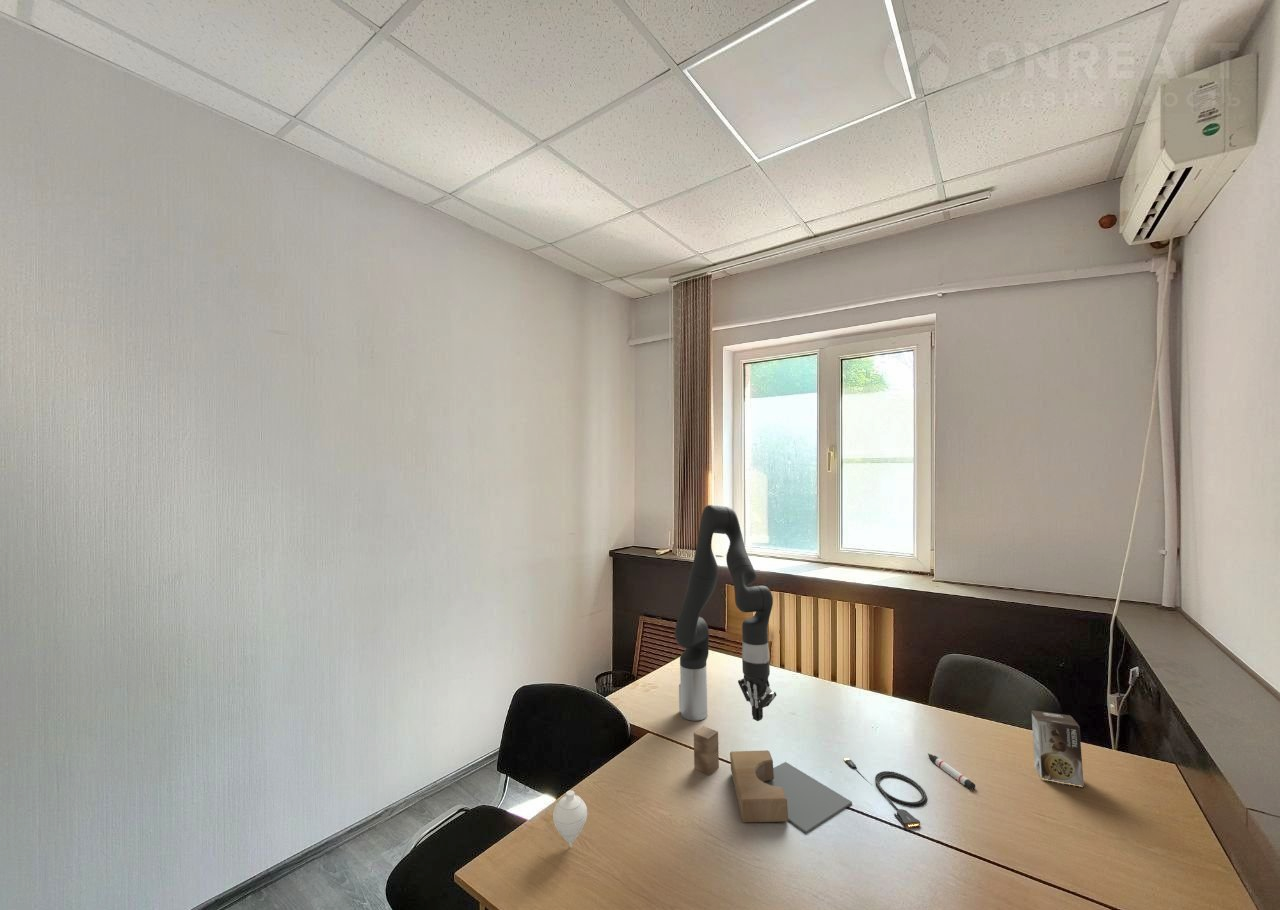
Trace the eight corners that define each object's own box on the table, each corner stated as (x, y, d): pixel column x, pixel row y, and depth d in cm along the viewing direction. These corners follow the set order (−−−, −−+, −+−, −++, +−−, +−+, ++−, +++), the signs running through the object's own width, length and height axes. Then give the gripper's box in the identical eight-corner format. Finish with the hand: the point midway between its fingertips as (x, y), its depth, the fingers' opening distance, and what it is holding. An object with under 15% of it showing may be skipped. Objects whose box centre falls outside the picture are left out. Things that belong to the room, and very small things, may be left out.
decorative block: (769, 749, 136) (787, 799, 116) (770, 770, 136) (788, 823, 116) (729, 750, 137) (741, 799, 117) (730, 770, 137) (742, 823, 117)
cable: (886, 758, 143) (886, 753, 143) (959, 826, 115) (959, 819, 116) (843, 762, 142) (842, 756, 142) (906, 831, 114) (905, 825, 114)
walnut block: (694, 768, 139) (693, 732, 139) (704, 760, 143) (703, 725, 143) (709, 775, 136) (708, 738, 136) (718, 767, 139) (718, 731, 140)
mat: (740, 786, 131) (740, 784, 131) (785, 763, 141) (785, 761, 141) (805, 833, 113) (805, 831, 113) (851, 803, 123) (851, 801, 123)
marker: (975, 790, 128) (975, 782, 128) (969, 791, 128) (968, 783, 128) (930, 757, 143) (930, 750, 143) (924, 758, 143) (924, 751, 143)
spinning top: (558, 864, 105) (557, 807, 106) (550, 840, 112) (549, 787, 113) (592, 853, 108) (591, 797, 109) (582, 830, 115) (581, 778, 116)
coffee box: (1075, 775, 133) (1071, 715, 134) (1084, 789, 127) (1081, 726, 128) (1033, 767, 137) (1030, 709, 138) (1040, 780, 131) (1037, 719, 132)
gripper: (729, 653, 142) (731, 714, 141) (764, 667, 131) (766, 733, 130) (747, 648, 146) (749, 707, 145) (782, 661, 135) (785, 725, 134)
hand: (757, 719), depth 138 cm, fingers closed
